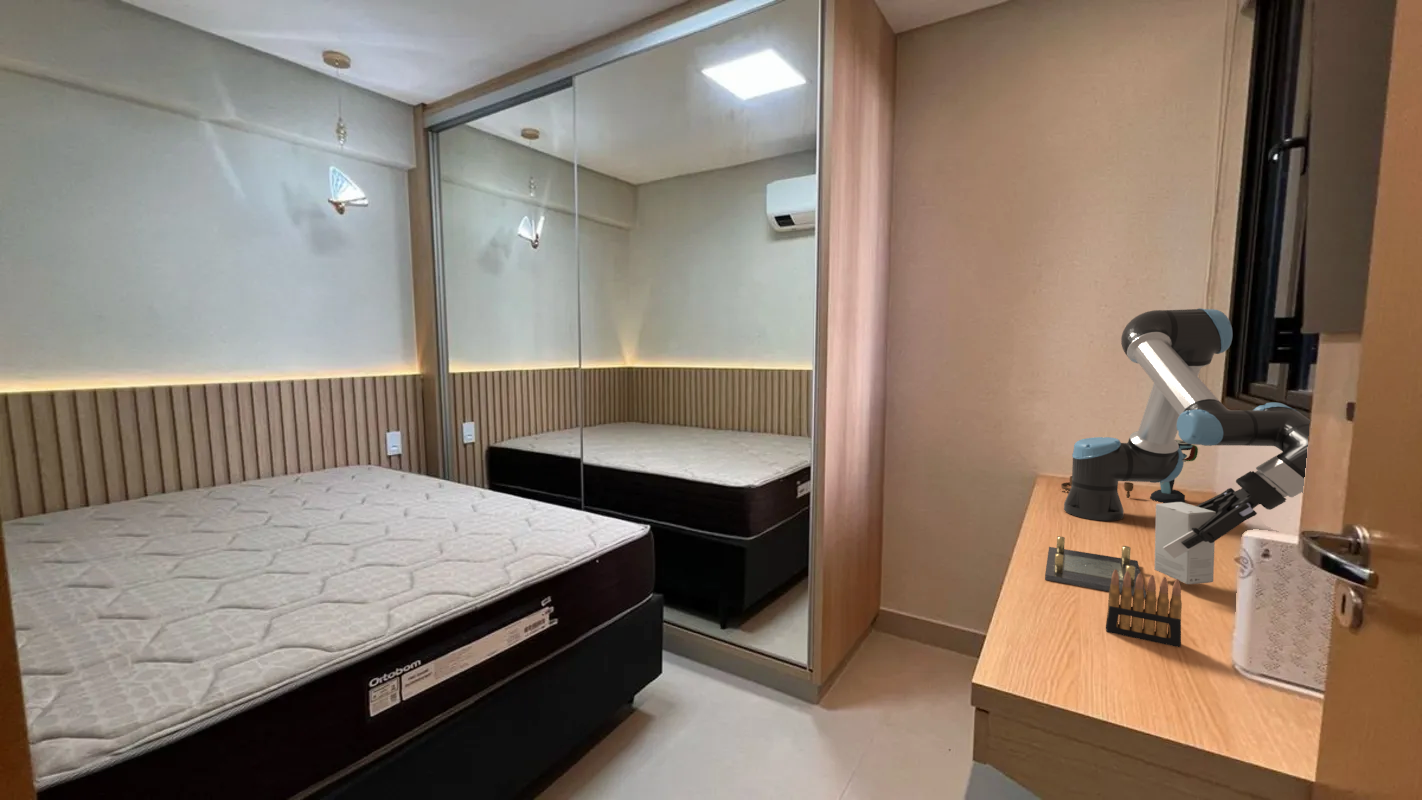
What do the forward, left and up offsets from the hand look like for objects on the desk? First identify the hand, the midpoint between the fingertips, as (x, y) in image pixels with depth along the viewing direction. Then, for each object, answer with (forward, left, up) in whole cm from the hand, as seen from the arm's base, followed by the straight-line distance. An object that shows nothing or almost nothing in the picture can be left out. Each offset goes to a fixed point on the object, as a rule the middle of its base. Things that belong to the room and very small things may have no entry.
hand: (1165, 544), depth 122 cm
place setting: (-78, -12, -9) cm, 79 cm away
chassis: (+2, -13, -8) cm, 16 cm away
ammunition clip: (+31, -6, -9) cm, 33 cm away
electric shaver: (-79, +10, -9) cm, 80 cm away
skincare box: (0, +3, -7) cm, 7 cm away
